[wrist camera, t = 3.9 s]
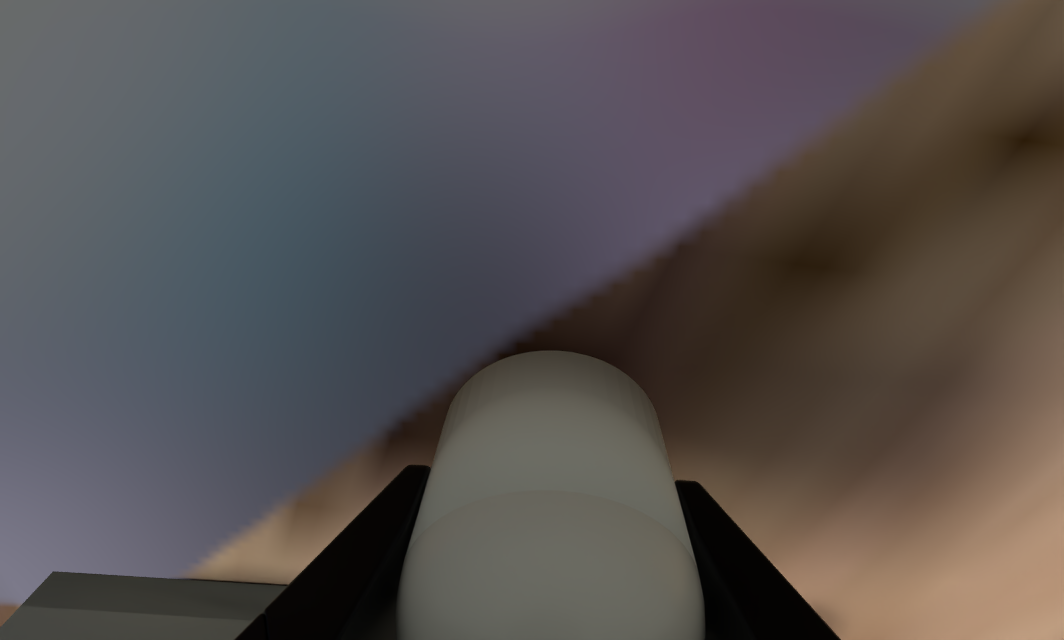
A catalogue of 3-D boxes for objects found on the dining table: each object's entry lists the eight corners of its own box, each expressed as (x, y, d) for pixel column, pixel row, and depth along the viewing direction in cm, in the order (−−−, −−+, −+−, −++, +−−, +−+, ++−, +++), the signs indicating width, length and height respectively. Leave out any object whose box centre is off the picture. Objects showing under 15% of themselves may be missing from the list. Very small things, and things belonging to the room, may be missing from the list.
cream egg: (677, 356, 10) (802, 690, 5) (643, 522, 12) (707, 873, 7) (439, 344, 10) (318, 659, 5) (448, 510, 12) (371, 849, 7)
